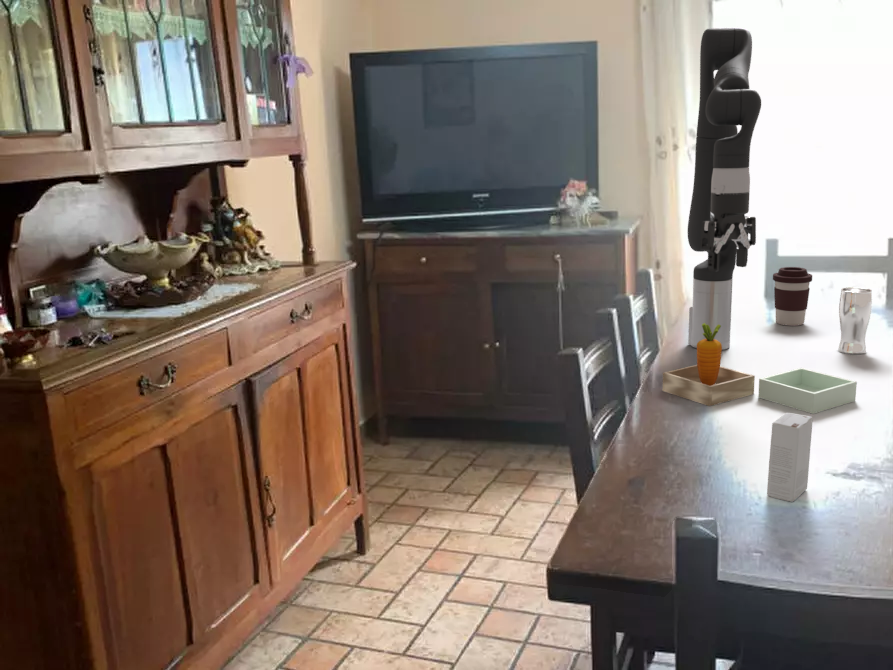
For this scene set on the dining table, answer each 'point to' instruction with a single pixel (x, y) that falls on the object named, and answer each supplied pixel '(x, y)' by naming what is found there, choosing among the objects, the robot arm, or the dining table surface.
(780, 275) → the coffee cup
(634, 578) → the dining table surface
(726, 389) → the birch frame
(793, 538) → the dining table surface
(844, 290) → the beer glass
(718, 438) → the dining table surface
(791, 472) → the skincare box
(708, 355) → the carrot
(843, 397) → the green tray
